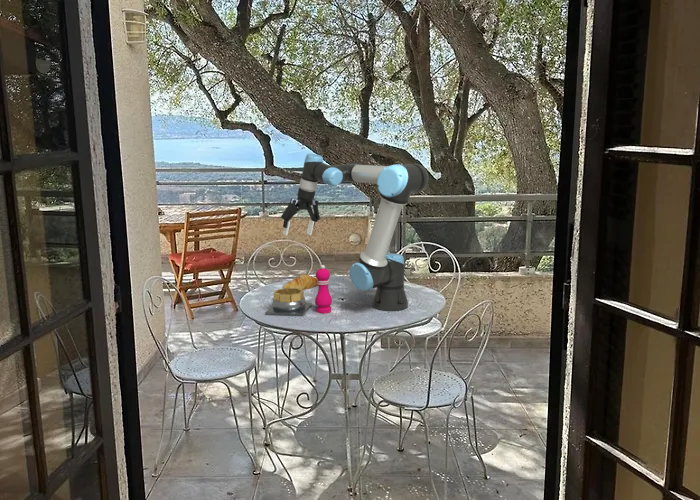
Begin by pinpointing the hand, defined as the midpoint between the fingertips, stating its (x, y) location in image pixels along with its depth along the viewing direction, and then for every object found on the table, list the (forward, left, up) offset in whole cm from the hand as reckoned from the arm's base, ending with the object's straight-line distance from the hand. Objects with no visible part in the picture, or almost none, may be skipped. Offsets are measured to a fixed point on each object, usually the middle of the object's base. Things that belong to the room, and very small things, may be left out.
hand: (297, 234), depth 277 cm
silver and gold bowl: (-1, +20, -29) cm, 36 cm away
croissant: (+3, -19, -30) cm, 35 cm away
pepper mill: (-16, +20, -29) cm, 39 cm away
